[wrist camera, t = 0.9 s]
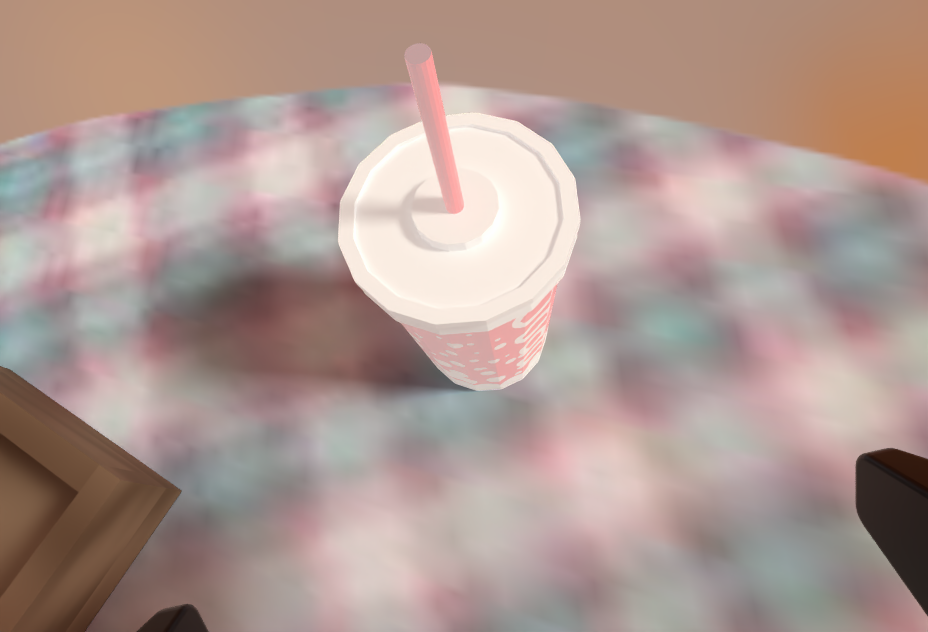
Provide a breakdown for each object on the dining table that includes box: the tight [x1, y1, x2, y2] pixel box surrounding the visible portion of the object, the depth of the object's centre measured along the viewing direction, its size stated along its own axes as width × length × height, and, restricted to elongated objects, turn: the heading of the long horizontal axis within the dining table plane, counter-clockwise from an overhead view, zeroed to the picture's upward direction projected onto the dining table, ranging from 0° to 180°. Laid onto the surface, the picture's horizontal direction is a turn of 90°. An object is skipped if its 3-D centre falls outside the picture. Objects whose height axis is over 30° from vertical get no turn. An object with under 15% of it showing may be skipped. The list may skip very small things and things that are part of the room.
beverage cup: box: [338, 43, 580, 391], centre depth 17 cm, size 6×6×14 cm
